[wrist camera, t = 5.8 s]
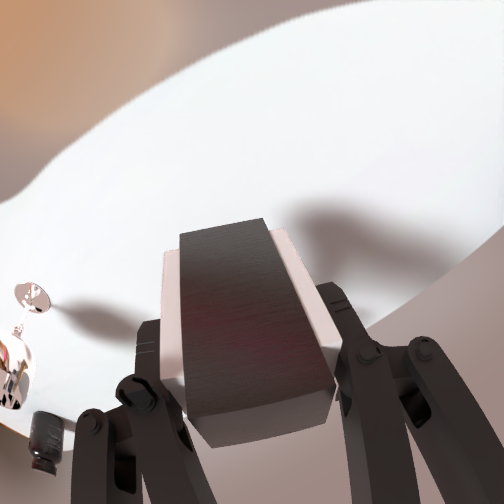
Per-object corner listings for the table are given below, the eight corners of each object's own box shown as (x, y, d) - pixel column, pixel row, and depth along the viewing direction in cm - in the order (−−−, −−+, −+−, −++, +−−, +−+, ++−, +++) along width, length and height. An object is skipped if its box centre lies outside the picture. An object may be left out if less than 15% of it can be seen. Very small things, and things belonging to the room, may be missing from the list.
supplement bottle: (27, 407, 37) (19, 463, 28) (57, 412, 39) (51, 471, 29) (42, 422, 41) (37, 474, 32) (70, 427, 43) (67, 480, 33)
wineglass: (56, 322, 27) (33, 419, 18) (13, 309, 25) (-19, 400, 15) (54, 284, 24) (19, 390, 15) (6, 270, 22) (-39, 367, 13)
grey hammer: (179, 234, 14) (187, 418, 7) (262, 217, 14) (336, 385, 7) (229, 390, 23) (250, 489, 16) (276, 380, 24) (305, 477, 16)
